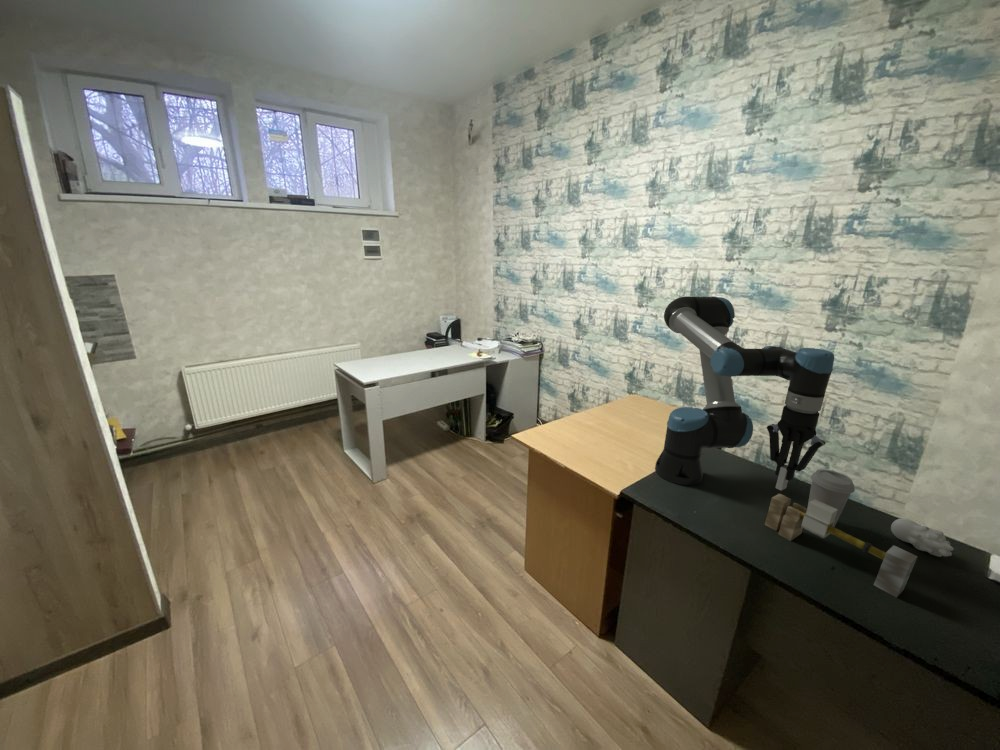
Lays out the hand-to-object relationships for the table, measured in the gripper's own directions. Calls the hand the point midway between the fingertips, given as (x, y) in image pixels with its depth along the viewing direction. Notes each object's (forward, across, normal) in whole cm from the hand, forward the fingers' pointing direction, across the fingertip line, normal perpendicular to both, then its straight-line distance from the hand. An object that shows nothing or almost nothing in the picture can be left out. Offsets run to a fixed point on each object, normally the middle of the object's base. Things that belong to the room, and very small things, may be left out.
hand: (780, 487), depth 107 cm
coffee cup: (+12, +6, +14) cm, 19 cm away
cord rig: (+12, +14, 0) cm, 18 cm away
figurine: (+12, +24, +25) cm, 37 cm away
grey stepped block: (+7, +10, 0) cm, 12 cm away
